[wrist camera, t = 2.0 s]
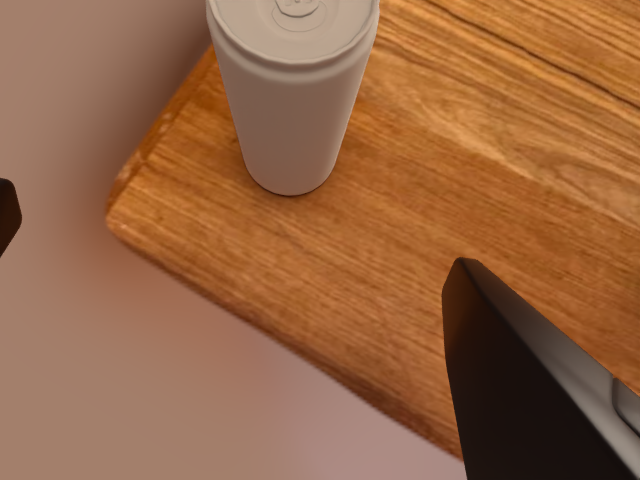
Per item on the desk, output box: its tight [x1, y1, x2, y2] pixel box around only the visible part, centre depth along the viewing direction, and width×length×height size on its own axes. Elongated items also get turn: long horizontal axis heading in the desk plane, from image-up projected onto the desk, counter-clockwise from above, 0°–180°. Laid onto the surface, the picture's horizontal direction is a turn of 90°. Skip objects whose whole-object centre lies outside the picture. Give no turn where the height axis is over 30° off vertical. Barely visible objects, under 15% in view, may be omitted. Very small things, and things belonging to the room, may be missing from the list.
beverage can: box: [206, 0, 380, 196], centre depth 17 cm, size 5×5×12 cm
